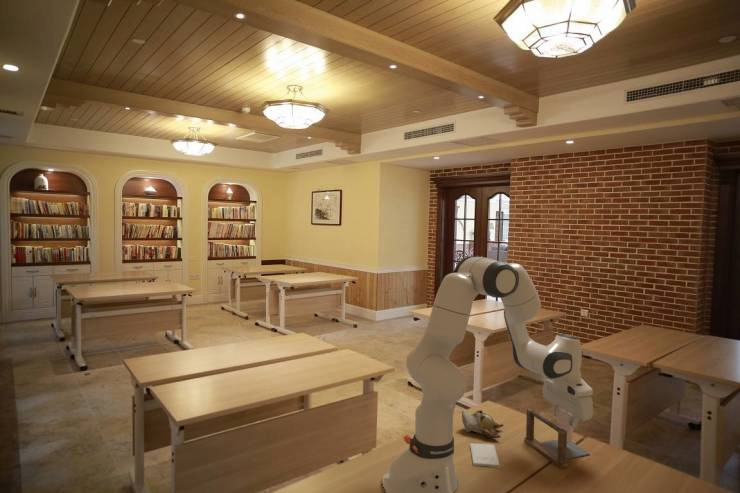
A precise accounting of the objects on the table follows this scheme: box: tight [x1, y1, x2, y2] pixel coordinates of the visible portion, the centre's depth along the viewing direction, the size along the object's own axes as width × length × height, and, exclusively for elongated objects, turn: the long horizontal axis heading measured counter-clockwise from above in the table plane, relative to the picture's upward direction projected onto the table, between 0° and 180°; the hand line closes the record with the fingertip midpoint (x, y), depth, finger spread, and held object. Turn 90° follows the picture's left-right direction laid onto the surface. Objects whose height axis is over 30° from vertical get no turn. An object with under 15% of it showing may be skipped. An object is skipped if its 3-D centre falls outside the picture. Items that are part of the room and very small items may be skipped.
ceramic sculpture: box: [461, 410, 505, 439], centre depth 165 cm, size 11×9×15 cm
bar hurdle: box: [524, 408, 569, 469], centre depth 151 cm, size 3×18×12 cm, turn 17°
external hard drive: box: [469, 442, 501, 469], centre depth 149 cm, size 2×8×12 cm
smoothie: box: [555, 409, 574, 444], centre depth 153 cm, size 6×6×14 cm
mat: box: [540, 439, 591, 461], centre depth 153 cm, size 11×11×1 cm
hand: (565, 421), depth 153 cm, fingers closed on smoothie, 6 cm apart
